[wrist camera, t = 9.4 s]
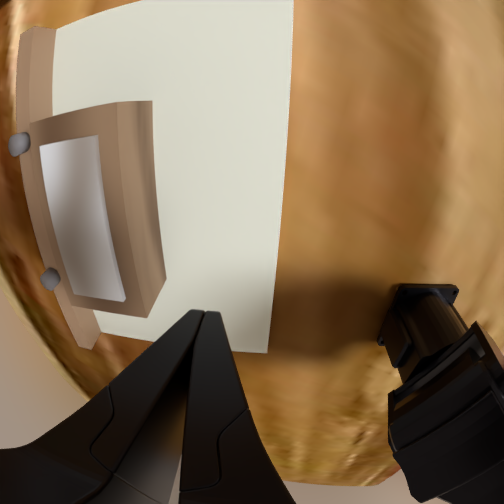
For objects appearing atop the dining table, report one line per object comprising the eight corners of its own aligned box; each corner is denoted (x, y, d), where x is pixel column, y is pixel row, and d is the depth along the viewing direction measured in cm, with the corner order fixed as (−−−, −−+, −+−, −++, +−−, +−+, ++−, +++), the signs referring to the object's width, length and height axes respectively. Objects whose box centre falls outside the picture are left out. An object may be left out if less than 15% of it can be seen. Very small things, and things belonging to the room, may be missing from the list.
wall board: (292, -5, 10) (299, -35, 7) (267, 346, 23) (266, 385, 20) (40, 41, 11) (2, 39, 7) (85, 322, 24) (66, 351, 20)
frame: (152, 100, 13) (112, 102, 9) (166, 278, 19) (145, 322, 15) (72, 114, 14) (25, 124, 10) (97, 272, 20) (68, 308, 16)
